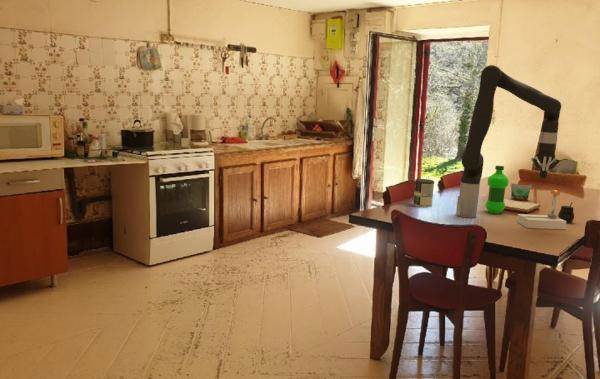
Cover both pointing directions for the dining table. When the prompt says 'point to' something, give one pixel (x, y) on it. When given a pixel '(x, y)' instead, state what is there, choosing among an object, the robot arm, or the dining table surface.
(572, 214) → the mate gourd
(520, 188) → the food container
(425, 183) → the coffee can
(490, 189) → the plastic bottle
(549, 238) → the dining table surface
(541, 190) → the dining table surface
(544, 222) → the block
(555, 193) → the breaker handle
